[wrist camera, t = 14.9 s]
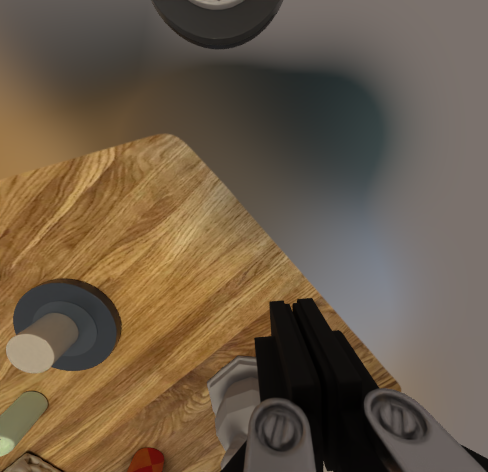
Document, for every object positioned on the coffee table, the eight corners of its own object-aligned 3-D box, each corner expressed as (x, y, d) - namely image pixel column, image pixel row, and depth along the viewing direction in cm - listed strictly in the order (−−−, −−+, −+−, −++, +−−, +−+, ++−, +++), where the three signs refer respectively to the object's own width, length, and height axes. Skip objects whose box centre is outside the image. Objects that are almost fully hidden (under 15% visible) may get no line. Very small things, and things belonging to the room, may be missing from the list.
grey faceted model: (192, 392, 43) (168, 507, 28) (254, 341, 41) (263, 435, 26) (266, 450, 47) (280, 578, 32) (326, 406, 45) (371, 522, 30)
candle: (52, 397, 43) (9, 448, 35) (42, 416, 44) (-2, 470, 36) (25, 386, 42) (-25, 435, 34) (15, 405, 43) (-35, 457, 35)
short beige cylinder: (31, 314, 37) (-2, 336, 32) (72, 310, 37) (45, 331, 32) (44, 349, 38) (14, 375, 33) (83, 345, 38) (59, 371, 33)
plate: (7, 284, 37) (-3, 289, 36) (108, 273, 37) (101, 277, 36) (39, 368, 41) (31, 376, 40) (130, 358, 41) (126, 365, 39)
